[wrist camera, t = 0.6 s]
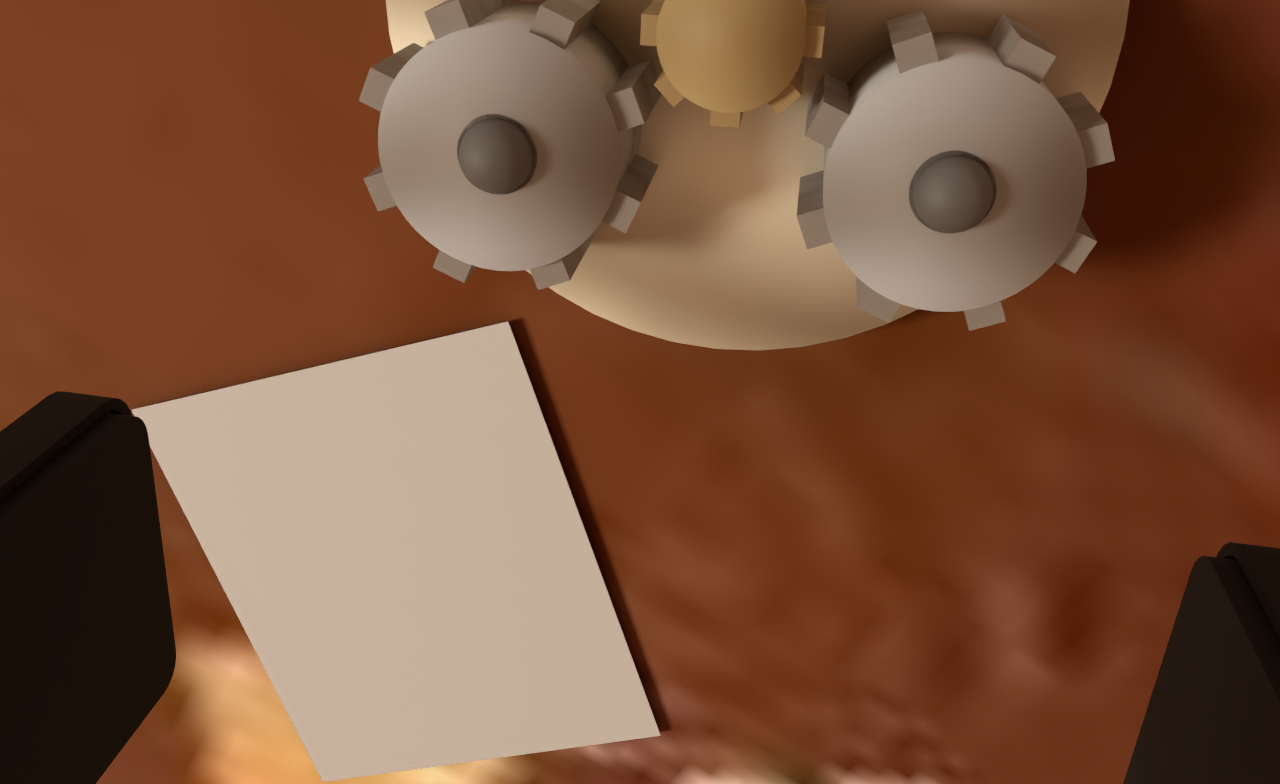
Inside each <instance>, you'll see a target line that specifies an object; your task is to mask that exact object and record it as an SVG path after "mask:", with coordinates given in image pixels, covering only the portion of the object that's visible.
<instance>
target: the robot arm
mask: <svg viewBox="0 0 1280 784" xmlns="http://www.w3.org/2000/svg"><path fill="white" fill-rule="evenodd" d="M175 661H176V647H175V640H174V632H173V624H172V616H171V609H170V601H169V593H168V585H167V577H166V570H165V562H164V554H163V546H162V539H161V531H160V523H159V515H158V507H157V500H156V492H155V484H154V476H153V469H152V461H151V453H150V445H149V437H148V432H147V428H146V425H145V424H144V422H143V420H142V419H140V418H139V417H135V416H132V414H131V411H130V409H129V408H128V406H127V404H126V403H125V402H123V401H122V400H120V399H117V398H109V397H102V396H94V395H86V394H78V393H71V392H58V391H57V392H55V393H53V394H51V395H49V396H47V397H46V398H45V399H43V400H42V401H41V402H39V403H38V404H37V405H35V406H34V407H33V408H31V409H30V410H29V411H27V412H26V413H25V414H23V415H22V416H21V417H19V418H18V419H17V420H15V421H14V422H13V423H11V424H10V425H9V426H7V427H6V428H5V429H3V430H2V431H1V432H0V784H96V782H97V781H98V780H99V778H100V777H101V776H102V775H103V773H104V772H105V771H106V769H107V768H108V767H109V765H110V764H111V763H112V761H113V760H114V759H115V757H116V756H117V755H118V753H119V752H120V751H121V749H122V748H123V747H124V745H125V744H126V743H127V741H128V740H129V739H130V737H131V736H132V735H133V733H134V732H135V731H136V729H137V728H138V727H139V725H140V724H141V723H142V722H143V720H144V719H145V718H146V716H147V715H148V714H149V712H150V711H151V710H152V708H153V707H154V706H155V704H156V703H157V702H158V700H159V699H160V698H161V696H162V695H163V694H164V692H165V690H166V689H167V687H168V685H169V683H170V681H171V678H172V675H173V671H174V668H175ZM1123 784H1280V549H1279V548H1271V547H1264V546H1256V545H1248V544H1240V543H1233V542H1229V543H1227V544H1225V545H1224V546H1223V547H1222V548H1221V550H1220V551H1219V552H1218V554H1217V556H1216V557H1209V556H1202V557H1200V558H1198V560H1197V561H1196V562H1195V564H1194V566H1193V568H1192V571H1191V573H1190V576H1189V580H1188V583H1187V586H1186V589H1185V592H1184V595H1183V598H1182V602H1181V605H1180V608H1179V611H1178V614H1177V617H1176V620H1175V623H1174V627H1173V630H1172V633H1171V636H1170V639H1169V642H1168V645H1167V648H1166V652H1165V655H1164V658H1163V661H1162V664H1161V667H1160V670H1159V674H1158V677H1157V680H1156V683H1155V686H1154V689H1153V692H1152V695H1151V699H1150V702H1149V705H1148V708H1147V711H1146V714H1145V717H1144V721H1143V724H1142V727H1141V730H1140V733H1139V736H1138V739H1137V742H1136V746H1135V749H1134V752H1133V755H1132V758H1131V761H1130V764H1129V767H1128V771H1127V774H1126V777H1125V780H1124V783H1123Z"/></svg>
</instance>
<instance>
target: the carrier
mask: <svg viewBox="0 0 1280 784" xmlns="http://www.w3.org/2000/svg"><path fill="white" fill-rule="evenodd" d="M1129 2H1130V0H386V6H387V15H388V25H389V34H390V39H391V43H392V48H393V52H394V54H393V55H391V56H390V57H388V58H386V59H384V60H383V61H381V62H379V63H377V64H376V65H374V66H372V67H370V70H369V73H368V76H367V79H366V82H365V84H364V87H363V90H362V93H361V96H360V99H359V101H360V102H362V103H364V104H366V105H368V106H370V107H372V108H374V109H376V110H378V111H380V112H381V114H380V121H379V128H378V148H379V157H380V163H381V165H380V166H378V167H377V168H376V169H375V170H373V171H372V172H371V173H370V174H368V175H367V176H366V177H365V178H363V179H364V181H365V184H366V186H367V188H368V190H369V192H370V195H371V197H372V199H373V201H374V203H375V206H376V208H377V210H378V211H381V210H384V209H387V208H390V207H393V206H396V205H397V206H398V208H399V209H400V211H401V212H402V214H403V215H404V217H405V218H406V219H407V221H408V222H409V223H410V224H411V225H412V226H413V228H414V229H415V230H416V231H417V232H418V233H419V234H420V235H421V236H423V237H424V238H425V239H426V240H427V241H428V242H429V243H431V244H432V245H434V246H435V247H436V248H438V249H439V250H440V251H439V253H438V256H437V258H436V260H435V263H434V265H433V268H435V269H437V270H439V271H441V272H443V273H445V274H447V275H449V276H451V277H453V278H455V279H457V280H459V281H461V282H463V283H464V282H465V281H466V280H467V278H468V277H469V276H470V275H471V273H472V272H473V271H474V269H475V268H476V267H480V268H484V269H491V270H497V271H519V270H526V271H527V272H529V273H530V274H531V275H532V276H533V279H534V281H535V284H536V286H537V288H538V290H540V289H543V288H546V287H549V288H550V289H552V290H553V291H555V292H556V293H558V294H559V295H561V296H563V297H565V298H566V299H568V300H570V301H572V302H573V303H575V304H577V305H579V306H580V307H582V308H584V309H586V310H588V311H589V312H591V313H593V314H595V315H597V316H600V317H602V318H605V319H607V320H609V321H612V322H614V323H616V324H619V325H621V326H624V327H626V328H628V329H631V330H633V331H637V332H640V333H644V334H647V335H651V336H654V337H658V338H661V339H665V340H668V341H672V342H677V343H683V344H689V345H696V346H702V347H708V348H715V349H737V350H769V349H781V348H794V347H803V346H808V345H813V344H818V343H823V342H828V341H833V340H838V339H843V338H846V337H849V336H852V335H855V334H858V333H861V332H864V331H867V330H870V329H873V328H876V327H879V326H882V325H885V324H888V323H890V322H892V321H894V320H896V319H899V318H901V317H903V316H905V315H907V314H909V313H911V312H913V311H915V310H918V309H922V310H928V311H939V312H954V311H964V313H965V317H966V321H967V325H968V328H969V331H971V330H974V329H978V328H982V327H986V326H990V325H993V324H997V323H1001V322H1005V321H1006V320H1005V316H1004V312H1003V308H1002V304H1001V300H1004V299H1006V298H1008V297H1010V296H1012V295H1014V294H1016V293H1018V292H1019V291H1021V290H1022V289H1024V288H1026V287H1027V286H1029V285H1030V284H1031V283H1033V282H1034V281H1035V280H1036V279H1038V278H1039V277H1040V276H1042V275H1043V274H1044V273H1045V272H1046V271H1047V270H1048V269H1049V268H1050V267H1051V266H1052V265H1053V264H1054V263H1056V264H1058V265H1060V266H1062V267H1063V268H1065V269H1067V270H1069V271H1071V272H1073V273H1076V272H1077V270H1078V269H1079V267H1080V266H1081V264H1082V263H1083V262H1084V260H1085V259H1086V257H1087V256H1088V254H1089V253H1090V251H1091V250H1092V249H1093V247H1094V246H1095V244H1096V243H1097V241H1096V239H1095V237H1094V235H1093V234H1092V232H1091V230H1090V229H1089V227H1088V225H1087V224H1086V222H1085V220H1084V218H1083V217H1082V215H1081V214H1082V210H1083V207H1084V202H1085V195H1086V188H1087V168H1091V167H1094V166H1098V165H1101V164H1105V163H1108V162H1112V161H1115V157H1114V153H1113V148H1112V143H1111V138H1110V133H1109V129H1108V124H1107V122H1106V121H1105V120H1104V119H1103V117H1102V116H1101V115H1100V114H1099V113H1100V110H1101V108H1102V106H1103V103H1104V101H1105V99H1106V96H1107V94H1108V92H1109V89H1110V87H1111V83H1112V79H1113V76H1114V72H1115V69H1116V65H1117V62H1118V58H1119V55H1120V51H1121V47H1122V44H1123V40H1124V36H1125V30H1126V23H1127V16H1128V9H1129Z"/></svg>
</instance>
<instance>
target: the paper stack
mask: <svg viewBox="0 0 1280 784" xmlns="http://www.w3.org/2000/svg"><path fill="white" fill-rule="evenodd" d="M132 412H133V414H134V416H135V417H139V418H140V419H142V420H143V422H144V424H145V425H146V428H147V432H148V437H149V445H150V447H151V449H152V451H153V453H154V455H155V457H156V459H157V461H158V462H159V464H160V466H161V468H162V470H163V472H164V474H165V476H166V478H167V480H168V482H169V484H170V486H171V488H172V490H173V492H174V494H175V496H176V497H177V499H178V501H179V503H180V505H181V507H182V509H183V511H184V513H185V515H186V517H187V519H188V521H189V523H190V525H191V527H192V529H193V531H194V532H195V534H196V536H197V538H198V540H199V542H200V544H201V546H202V548H203V550H204V552H205V554H206V556H207V558H208V560H209V562H210V564H211V566H212V567H213V569H214V571H215V573H216V575H217V577H218V579H219V581H220V583H221V585H222V587H223V589H224V591H225V593H226V595H227V597H228V599H229V600H230V602H231V604H232V606H233V608H234V610H235V612H236V614H237V616H238V618H239V620H240V622H241V624H242V626H243V628H244V630H245V632H246V634H247V635H248V637H249V639H250V641H251V643H252V645H253V647H254V649H255V651H256V653H257V655H258V657H259V659H260V661H261V663H262V665H263V667H264V669H265V670H266V672H267V674H268V676H269V678H270V680H271V682H272V684H273V686H274V688H275V690H276V692H277V694H278V696H279V698H280V700H281V702H282V704H283V705H284V707H285V709H286V711H287V713H288V715H289V717H290V719H291V721H292V723H293V725H294V727H295V729H296V731H297V733H298V735H299V737H300V739H301V740H302V742H303V744H304V746H305V748H306V750H307V752H308V754H309V756H310V758H311V760H312V762H313V764H314V766H315V768H316V770H317V772H318V774H319V775H320V777H321V779H322V781H323V782H326V781H333V780H340V779H348V778H355V777H362V776H369V775H377V774H384V773H391V772H399V771H406V770H413V769H421V768H428V767H435V766H442V765H450V764H457V763H464V762H472V761H479V760H486V759H493V758H501V757H508V756H515V755H523V754H530V753H537V752H544V751H552V750H559V749H566V748H574V747H581V746H588V745H596V744H603V743H610V742H617V741H625V740H632V739H639V738H647V737H654V736H661V735H660V732H659V729H658V727H657V724H656V721H655V718H654V716H653V713H652V710H651V708H650V705H649V702H648V699H647V697H646V694H645V691H644V689H643V686H642V683H641V680H640V678H639V675H638V672H637V670H636V667H635V664H634V661H633V659H632V656H631V653H630V651H629V648H628V645H627V642H626V640H625V637H624V634H623V632H622V629H621V626H620V623H619V621H618V618H617V615H616V613H615V610H614V607H613V604H612V602H611V599H610V596H609V593H608V591H607V588H606V585H605V583H604V580H603V577H602V574H601V572H600V569H599V566H598V564H597V561H596V558H595V555H594V553H593V550H592V547H591V545H590V542H589V539H588V536H587V534H586V531H585V528H584V526H583V523H582V520H581V517H580V515H579V512H578V509H577V507H576V504H575V501H574V498H573V496H572V493H571V490H570V488H569V485H568V482H567V479H566V477H565V474H564V471H563V468H562V466H561V463H560V460H559V458H558V455H557V452H556V449H555V447H554V444H553V441H552V439H551V436H550V433H549V430H548V428H547V425H546V422H545V420H544V417H543V414H542V411H541V409H540V406H539V403H538V401H537V398H536V395H535V392H534V390H533V387H532V384H531V382H530V379H529V376H528V373H527V371H526V368H525V365H524V363H523V360H522V357H521V354H520V352H519V349H518V346H517V343H516V341H515V338H514V335H513V333H512V330H511V327H510V324H509V322H508V321H507V322H503V323H499V324H494V325H490V326H486V327H482V328H477V329H473V330H469V331H465V332H460V333H456V334H452V335H448V336H443V337H439V338H435V339H431V340H426V341H422V342H418V343H414V344H409V345H405V346H401V347H397V348H392V349H388V350H384V351H379V352H375V353H371V354H367V355H362V356H358V357H354V358H350V359H345V360H341V361H337V362H333V363H328V364H324V365H320V366H316V367H311V368H307V369H303V370H299V371H294V372H290V373H286V374H282V375H277V376H273V377H269V378H265V379H260V380H256V381H252V382H248V383H243V384H239V385H235V386H231V387H226V388H222V389H218V390H213V391H209V392H205V393H201V394H196V395H192V396H188V397H184V398H179V399H175V400H171V401H167V402H162V403H158V404H154V405H150V406H145V407H141V408H137V409H133V410H132Z"/></svg>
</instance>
